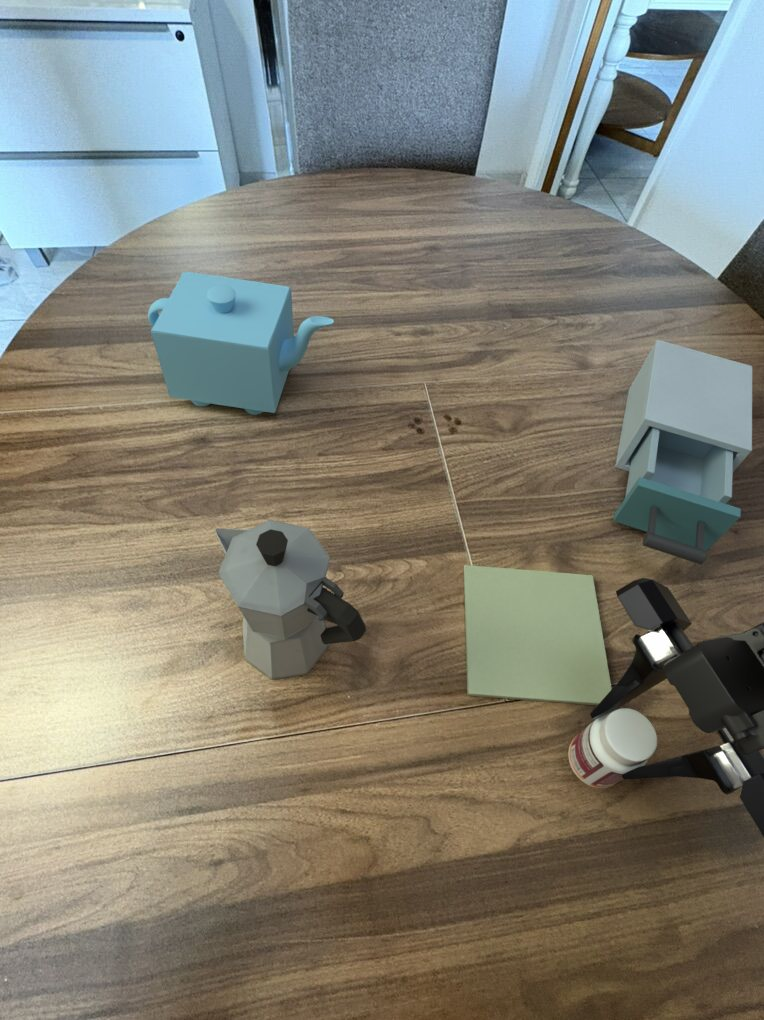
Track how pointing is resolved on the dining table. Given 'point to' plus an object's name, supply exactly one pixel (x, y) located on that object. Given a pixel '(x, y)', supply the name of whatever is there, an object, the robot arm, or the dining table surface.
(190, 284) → the teapot
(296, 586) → the coffee maker
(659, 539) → the drawer
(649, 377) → the pale grey hollow box
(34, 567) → the dining table surface
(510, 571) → the mat
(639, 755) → the pill bottle
